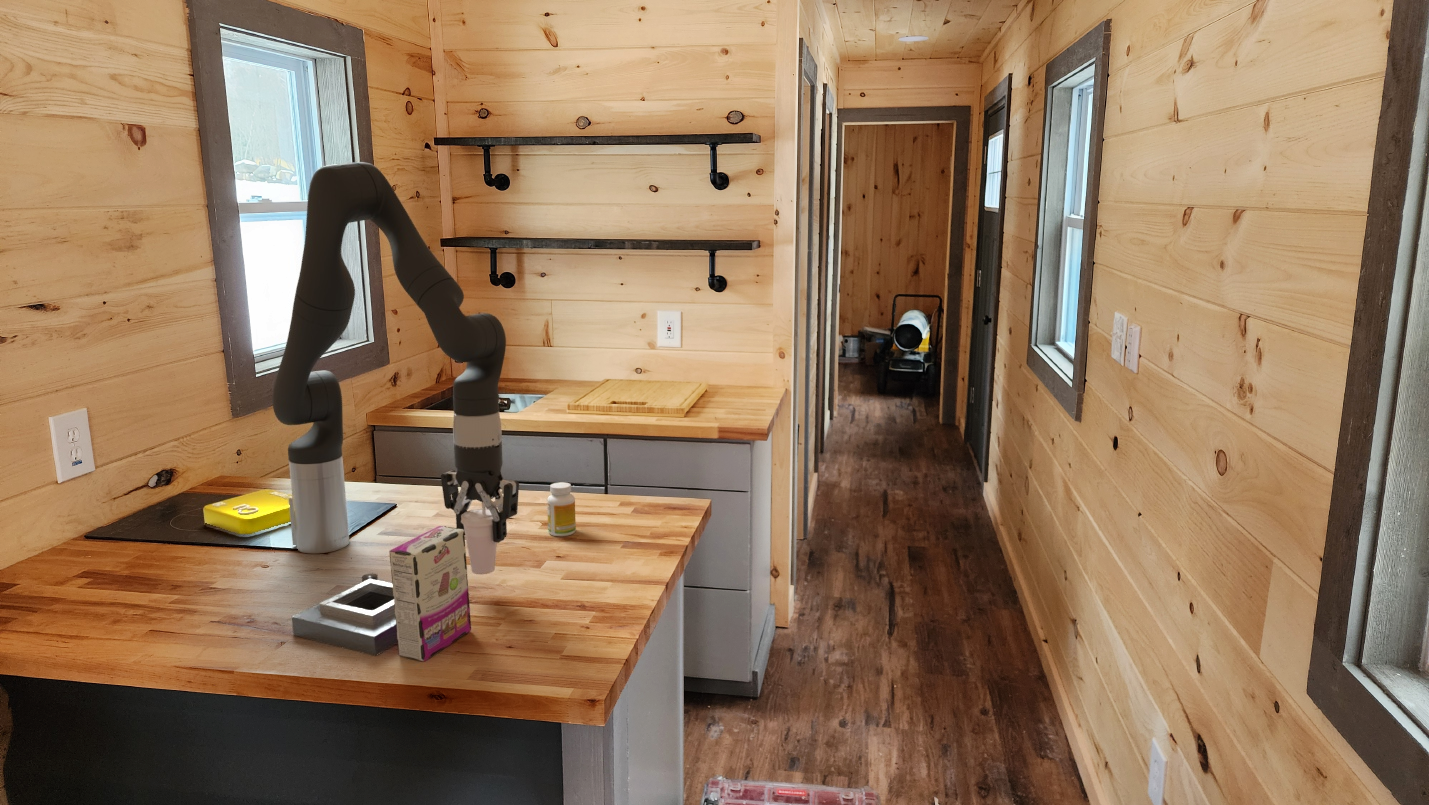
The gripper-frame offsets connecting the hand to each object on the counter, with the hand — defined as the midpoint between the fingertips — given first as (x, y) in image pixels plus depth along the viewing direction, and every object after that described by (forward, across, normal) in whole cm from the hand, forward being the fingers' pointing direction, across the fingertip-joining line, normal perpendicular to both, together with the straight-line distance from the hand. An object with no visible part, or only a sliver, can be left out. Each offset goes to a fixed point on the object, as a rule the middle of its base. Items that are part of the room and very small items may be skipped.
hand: (481, 537), depth 155 cm
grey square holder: (+10, -9, -16) cm, 21 cm away
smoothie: (+6, 0, 0) cm, 6 cm away
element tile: (+12, -64, +11) cm, 66 cm away
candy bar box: (+10, +4, -18) cm, 21 cm away
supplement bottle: (+10, -4, +31) cm, 33 cm away
